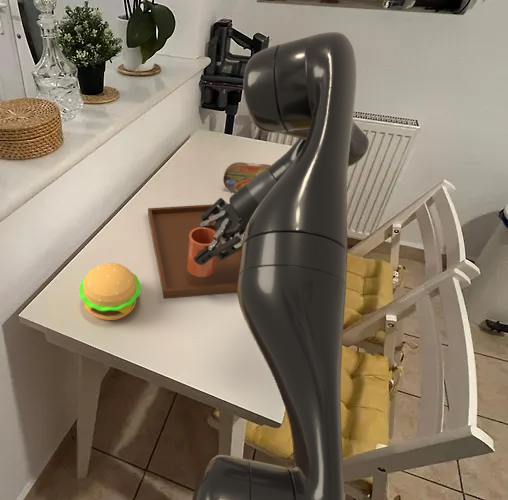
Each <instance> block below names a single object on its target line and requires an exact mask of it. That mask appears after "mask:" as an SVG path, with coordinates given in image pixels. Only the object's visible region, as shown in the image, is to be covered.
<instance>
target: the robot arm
mask: <svg viewBox="0 0 508 500" xmlns="http://www.w3.org/2000/svg"><path fill="white" fill-rule="evenodd" d="M356 61H357V60H356V55H355V51H354V46H353V45H352V43H351V40H350V39H349V38H348V36H347V35H346V34H344V33H341V32H337V31H334V32H333V31H331V32H329V31H328V32H321V33H318V34H313V35H310V36H307V37H303V38H299V39H295V40H292V41H291V40H290V41H288V42H284V43H280V44H279V43H278V44H275V45H271V46H269V47H266V48H264V49H262V50H260V51H258V52H256V53H254V54H252V56H251V57H250V58H249V59H248V61H247V63H246V66H245V68H244V74H243V80H242V83H243V84H242V88H243V99H244V104H245V108H246V111H247V114H248V116H249V118H250V120H251V122H252V123H253V125H254V126H255V127H256V128H257V129H258V130H260V131H262V132H264V133H271V134H282V135H285V136H289V137H292V138H293V137H294V138H296V139H297V140H296V141H295V143H294V144H293V145H292V146H291V147H290V148H289V150H287V152H286V153H284V154H283V155H282V156H281V157H280V158H279V159H277V160H276V161H275V162H273V163H272V164H270V165H271V166H270V167H269V168H268V169H266V170H265V171H263V172H262V173H260V174H258V175H257V176H256V177H254V178H253V179H252V180H251V181H250V182H248V183H247V184H246V185H245V186H244V187H242V188H241V189H240V190H239V191H237V192H236V193H233V194H232V195H231V196H229V200H228V201H229V203H228V202H227V201H226V200H224V199H223V198H222V197H219V198H218V199H217V200H216V201H215V202H214V203H213V205H212V206H211V207H210V208H209V209H208V210H207V211H206V212H205V213H204V214H203V215H202V217H201V219H202V223H201V224H200V227H206V228H210V229H213V230H217V232H216V234H215V235H214V240H213V241H212V243H211V244H210V245H209V247H206V248H205V249H204V250H202V251H201V252H200V253H199V254H197V255H196V256H195V257H194V261H195V262H196V263H198V264H199V265H203V264H205V263H206V262H207V261H209V260H210V259H211V258H213V257H214V256H217V257H218V258H219V259H221V260H224V259H226V258H227V257H229V256H231V255H232V254H234V253H236V252H237V251H239V250H241V249H242V252H241V260H240V268H239V277H238V286H237V292H236V294H237V301H238V305H239V308H240V311H241V314H242V316H243V320H244V321H245V324H246V325H247V328H248V330H249V332H250V334H251V336H252V339H253V340H254V342H255V344H256V346H257V347H258V350H259V352H260V353H261V356H262V357H263V359H264V361H265V364H266V365H267V367H268V369H269V372H270V373H271V375H272V377H273V379H274V381H275V384H276V387H277V390H278V392H279V394H280V397H281V400H282V403H283V406H284V409H285V413H286V416H287V419H288V424H289V429H290V434H291V436H290V437H291V439H292V440H291V442H292V454H293V455H292V456H293V457H292V459H293V461H292V462H293V464H292V468H290V467H286V466H282V465H277V464H273V463H267V462H263V461H258V460H253V459H247V458H243V457H239V456H233V455H229V454H216V455H214V456H212V457H211V458H209V459H208V460H207V461H206V462H205V463H204V465H203V467H202V469H201V471H200V473H199V475H198V478H197V481H196V484H195V487H194V491H193V495H192V500H345V484H344V483H345V481H344V459H343V434H342V433H343V432H342V385H341V384H342V361H343V360H342V359H343V339H344V323H345V321H344V320H345V306H346V293H347V277H348V276H347V275H348V274H347V273H348V172H349V171H348V170H349V167H352V166H353V165H356V164H357V163H359V161H361V160H362V159H363V158H364V156H365V155H366V154H367V151H368V150H369V145H370V140H369V137H368V136H367V134H365V132H364V131H363V130H362V129H361V128H360V127H359V125H357V123H356V122H355V120H354V112H355V103H356V90H357V62H356ZM212 213H213V214H214V215H213V216H211V217H209V216H210V215H211V214H212ZM221 236H222V237H223V238H225V239H226V240H225V241H224V240H223V239H222V238H221ZM188 239H189V236H188ZM218 243H220V245H219V247H217V248H216V246H217V244H218ZM224 250H226V251H225V252H224V253H222V251H224Z"/></svg>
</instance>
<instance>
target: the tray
mask: <svg viewBox="0 0 508 500" xmlns="http://www.w3.org/2000/svg"><path fill="white" fill-rule="evenodd" d="M213 204H214V203H213ZM213 204H198V205H196V204H195V205H179V206H163V207H148V208H147V219H148V223H149V228H150V233H151V238H152V244H153V249H154V255H155V260H156V265H157V271H158V276H159V281H160V288H161V293H162V298H163V299H170V298H171V299H173V298H184V297H196V296H207V295H220V294H233V293H237V286H238V277H239V268H240V260H241V252H242V249H241V250H239V251H237V252H236V253H234V254H232V255H231V256H229V257H227V258H226V259H224V260H221V259H219V258H218V257H217V256H216V263H215V269H214V272H213V273H212V274H211V275H210V276H207V277H197V276H194V275H192V274H190V273H189V271H188V270H187V255H188V241H189V239H188V236H189V234H190V232H191V231H192V230H193V229H195V228H198V227H200V224H201V223H202V219H201V217H202V215H203V214H204V213H205V212H206V211H207V210H208V209H209V208H210V207H211V206H212V205H213ZM213 215H214V214H213V213H212V214H211V215H210V216H209V217H211V216H213ZM215 231H216V232H217V230H215ZM221 238H222V239H223V240H224V241H225V240H226V239H225V238H223V237H222V236H221ZM219 245H220V243H218V247H219ZM225 251H226V250H224V251H222V253H224V252H225Z"/></svg>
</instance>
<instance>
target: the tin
mask: <svg viewBox="0 0 508 500" xmlns="http://www.w3.org/2000/svg"><path fill="white" fill-rule="evenodd" d="M271 165H272V164H266V163H252V162H243V161H242V162H241V161H240V162H233V163H232V164H230V165H228V166H227V167H226V169H225V171H224V173H223V178H222V179H223V185H224V186H225V188H226V189H227V190H228V191H229V192H232V193H233V194H235V193H236V192H237V191H239V190H240V189H241V188H242V187H244V186H245V185H246V184H247V183H248V182H250V181H251V180H252V179H253V178H254V177H256V176H257V175H258V174H260V173H262V172H263V171H265V170H266V169H268V168H269V167H270V166H271Z"/></svg>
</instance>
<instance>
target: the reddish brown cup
mask: <svg viewBox="0 0 508 500" xmlns="http://www.w3.org/2000/svg"><path fill="white" fill-rule="evenodd" d="M215 234H216V231H215V230H213V229H210V228H206V227H198V228H195V229H193V230H192V231H191V232H190V234H189V241H188V255H187V270H188V271H189V273H190V274H192V275H194V276H197V277H207V276H210V275H211V274H212V273H213V272H214V269H215V263H216V256H214V257H213V258H211V259H210V260H209V261H207V262H206V263H205V264H203V265H199V264H198V263H196V262H195V261H194V257H195V256H196V255H197V254H199V253H200V252H201V251H202V250H204V249H205V248H206V247H209V245H210V244H211V243H212V241H213V240H214V235H215ZM217 247H218V244H217V246H216V248H217Z"/></svg>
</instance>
